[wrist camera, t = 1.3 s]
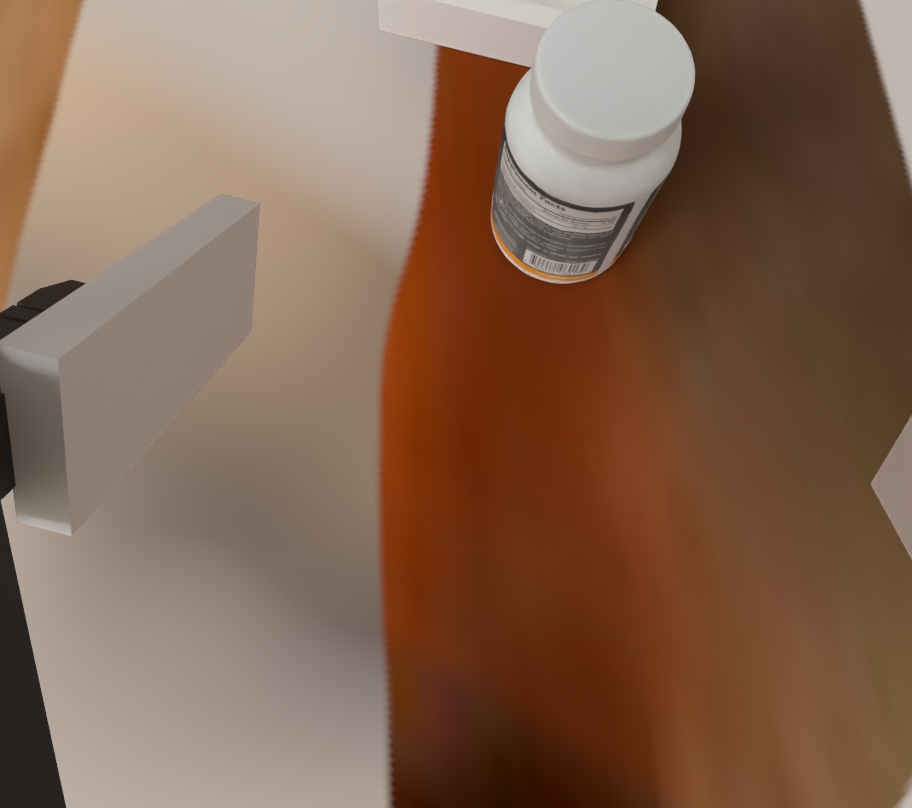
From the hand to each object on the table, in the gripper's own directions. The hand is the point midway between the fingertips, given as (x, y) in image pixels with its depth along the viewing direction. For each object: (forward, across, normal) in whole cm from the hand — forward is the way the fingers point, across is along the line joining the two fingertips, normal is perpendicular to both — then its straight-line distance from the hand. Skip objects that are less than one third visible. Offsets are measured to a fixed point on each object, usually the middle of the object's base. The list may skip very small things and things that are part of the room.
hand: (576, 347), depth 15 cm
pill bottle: (+18, 0, -3) cm, 18 cm away
